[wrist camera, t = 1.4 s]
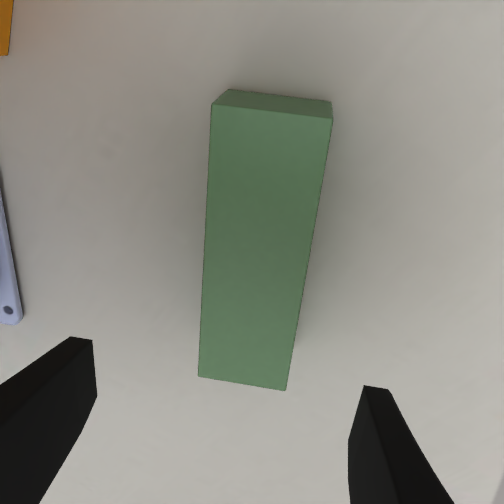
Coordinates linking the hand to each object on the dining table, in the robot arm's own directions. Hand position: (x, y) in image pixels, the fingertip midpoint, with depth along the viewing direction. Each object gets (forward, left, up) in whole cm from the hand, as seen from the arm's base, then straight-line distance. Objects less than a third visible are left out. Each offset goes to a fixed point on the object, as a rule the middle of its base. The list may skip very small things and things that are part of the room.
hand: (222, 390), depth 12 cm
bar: (0, 0, -9) cm, 9 cm away
